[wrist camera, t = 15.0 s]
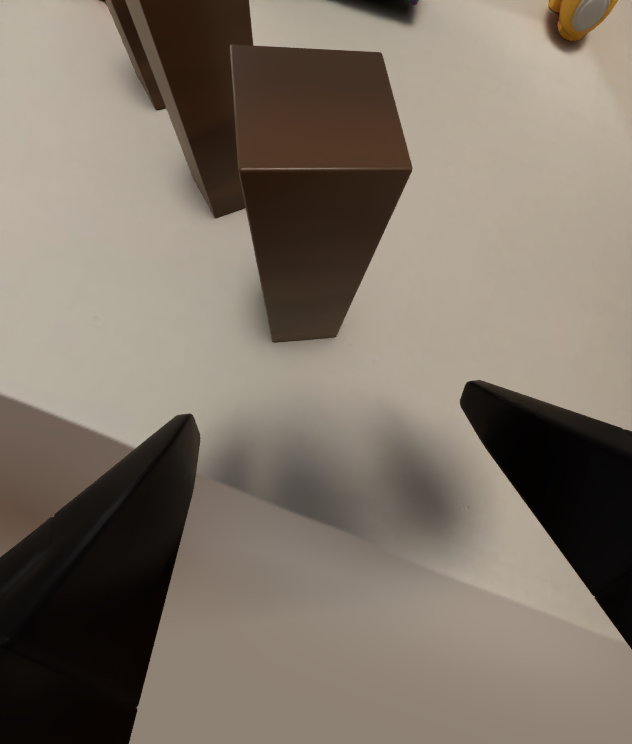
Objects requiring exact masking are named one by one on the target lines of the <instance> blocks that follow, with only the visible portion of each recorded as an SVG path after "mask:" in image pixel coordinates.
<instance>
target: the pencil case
mask: <svg viewBox="0 0 632 744" xmlns="http://www.w3.org/2000/svg"><path fill="white" fill-rule="evenodd" d="M406 1H407V2H408V3H409V4H411V5H413V6H414V5H416V4H417V2H418V0H406Z"/></svg>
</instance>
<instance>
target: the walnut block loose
mask: <svg viewBox="0 0 632 744" xmlns="http://www.w3.org/2000/svg"><path fill="white" fill-rule="evenodd" d="M229 49H230V63H231V76H232V90H233V104H234V117H235V131H236V144H237V158H238V171H239V176H240V181H241V186H242V191H243V196H244V201H245V206H246V211H247V216H248V221H249V226H250V231H251V236H252V241H253V246H254V251H255V256H256V261H257V266H258V271H259V276H260V281H261V286H262V292H263V297H264V302H265V307H266V312H267V317H268V322H269V327H270V332H271V337H272V342H283V341H295V340H307V339H318V338H330V337H336V335H337V333H338V331H339V329H340V327H341V325H342V322H343V320H344V318H345V316H346V314H347V311H348V309H349V307H350V305H351V303H352V301H353V298H354V296H355V294H356V292H357V290H358V287H359V285H360V283H361V281H362V279H363V277H364V274H365V272H366V270H367V268H368V266H369V264H370V261H371V259H372V257H373V255H374V253H375V250H376V248H377V246H378V244H379V242H380V240H381V237H382V235H383V233H384V231H385V229H386V226H387V224H388V222H389V220H390V218H391V216H392V213H393V211H394V209H395V207H396V205H397V202H398V200H399V198H400V196H401V194H402V192H403V189H404V187H405V185H406V183H407V181H408V178H409V176H410V174H411V172H412V164H411V160H410V157H409V153H408V149H407V145H406V142H405V138H404V134H403V130H402V127H401V123H400V119H399V116H398V112H397V108H396V104H395V101H394V97H393V93H392V89H391V86H390V82H389V78H388V74H387V71H386V67H385V63H384V59H383V56H382V53H380V52H363V51H344V50H325V49H306V48H287V47H267V46H248V45H230V48H229Z"/></svg>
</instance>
